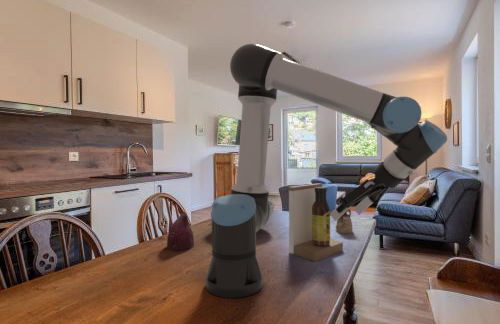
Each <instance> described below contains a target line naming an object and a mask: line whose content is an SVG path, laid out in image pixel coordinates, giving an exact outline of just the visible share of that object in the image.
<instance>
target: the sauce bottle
mask: <svg viewBox="0 0 500 324" xmlns="http://www.w3.org/2000/svg"><path fill="white" fill-rule="evenodd" d="M330 213H331V210H330V206H329V203H328V201H327V187H324V186H322V187H315V202H314V203H313V206H312V243H313V244H314V245H317V246H327V245H329V244H330V239H331V215H330Z"/></svg>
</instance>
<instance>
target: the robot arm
mask: <svg viewBox="0 0 500 324" xmlns="http://www.w3.org/2000/svg"><path fill="white" fill-rule="evenodd" d="M229 67H230V68H229V69H230V73H231V76H232V78H233V80H234V81H235V82H236V83H237V84H238V92H237V93H238V94H237V95H238V96H237V99H238V101H239V102H240V103H241V105H242V108H241V123H240V134H239V135H240V137H239V148H238V149H239V150H238V158H237V159H238V160H237V161H238V162H237V175H236V182H235V184H234V185H232V186H231V189H230V194H226V195H222V196H219V197H217V198H215V200H213V202H212V204H211V211H210V212H211V213H210V218H211V253H212V255H211V260H210V264H209V267H208V270H207V273H206V275H205V276H206V277H205V288H206V290H207V292H209V293H210V294H211V295H215V296H217V297H221V298H229V299H236V298H242V297H243V298H244V297H248V296H251V295H252V296H253V295H254V294H257V293H258V292H259V291H260V290H261V289H262V288H263V285H264V282H263V279H264V277H263V273H262V270H261V266H260V263H259V261H258V257H257V246H256V245H257V235H256V234H257V233H258V232H259V231H260V230H261V229H262V228H263V227H264V226H265V225H266V224H267V222H268V221H267V220H269V219H270V218H269V215H270V205H269V202H268V201H269V196H270V195H269V193H270V191H269V188H267V186H266V185H265V182H266V181H265V179H266V169H267V157H268V156H267V155H268V144H269V132H270V120H271V108H272V106H273V105H274V104H275V103H276V102H277V95H278V91H280V92H282V93H286V94H288V95H291V96H294V97H297V98H300V99H303V100H305V101H307V102H309V103H313V104H316V105H318V106H321V107H324V108H326V109H329V110H331V111H335V112H338V113H340V114H343V115H346V116H348V117H350V118H354V119H357V120H360V121H362V122H365V123H366V124H368V125H369V126H370V127H371V129H373V130H375V131H376V132H377V133H379V134H380V135H381V136H383V137H384V138H385V139H387V140H388V141H389V142H391V143H392V144H393V145H395V146H396V148H395V149H393V150H392V151H391V152H390V153H389V154H388V155H386V157H385V158H384V159H383V161H381V162H380V163H379V164H378V165H377V166H376V167H375V168H374V169H373V173H374V178H370V179H365V180H364V181H363V182H362V183H361V184H360V185H358V186H357V187H355V189H353V190H351V191H350V192H349V193H347V194H346V195H345V196H343V197H341V198H340V199H339V202H340V203H339V204H338V205H337V206H336V207H335V208H333V210H332V211H330V217H331V218H332V219H333V221H334V222H337V220H338V219H339V218H340V217H341V216H342V215H343V214H344V213H345V212H346V211H347V210H348V209H351V206H353V205H355V204H357V203H358V202H359V201H360V202H359V203H358V204H357V205H355V206H354V207H353V209H354V211H355V212H356V213H357V215H362V213H364V212H365V211H366V210H367V209H368V208H369V207H370V206H371V205H373V204H375V205H376V204H378V203H379V201H380V200H381V199H382V198H383V196H385V194H386V193H387V191H388V190H389V189H395V188H396V187H397V186H399V185H400V184H401V183H402V182H403V181H404V179H406V178H407V177H409V176H413V175H414V171H415V170H417V169H418V168H419V167H420V166H422V165H423V164H424V163H425V162H426V161H427V160H428V159H430V158H431V157H432V156H433V155H434V154H436V153H437V152H438V151H439V149H441V148H442V147H443V145H445V144H446V143H447V141H448V136H447V134H446V133H445V131H443V130H442V128H441V127H439V126H438V125H437V124H435V123H433V122H431V121H430V120H424V121H422V122H421V123H420V121H421V119H422V109H421V108H422V107H421V105H420V104H419V102H418V101H417V100H416V99H414V98H412V97H410V96H393V95H390V94H387V93H384V92H382V91H379V90H376V89H373V88H371V87H369V86H368V87H367V86H365V85H362V84H359V83H356V82H353V81H351V80H349V79H348V80H347V79H345V78H341V77H338V76H335V75H333V74H330V73H327V72H324V71H321V70H318V69H316V68H315V69H314V68H312V67H309V66H307V65H304V64H301V63H298V62H295V61H292V60H289V59H287V58H284V56H283V53H282V52H279V51H278V50H277V51H276V50H274V49H271V48H269V47H267V46H263V45H260V44H256V43H249V44H248V43H247V44H244V45H241V46H240V47H239V48H237V49H236V50H235V52H234V53H233V54H232V56H231V59H230V65H229ZM268 218H269V219H268Z"/></svg>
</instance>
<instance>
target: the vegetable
mask: <svg viewBox="0 0 500 324" xmlns="http://www.w3.org/2000/svg"><path fill="white" fill-rule="evenodd" d="M188 218H189V217H188V214H187V213H186V211H184V212H183V213H181V214H180V216H178V217H177V219H175V221H174V222H173V223H172V224H171V226H170V229H169V232H168V234H167V241H166V249H168V250H169V251H172V252H179V251H186V250H187V251H188V250H191V249H193V247H195V242H194V241H195V239H194V234H193V233H194V232H193V230H192V228H191V225H190V224H189V220H188Z"/></svg>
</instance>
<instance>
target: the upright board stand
mask: <svg viewBox="0 0 500 324" xmlns="http://www.w3.org/2000/svg"><path fill="white" fill-rule="evenodd" d="M315 187H323V183H318V182H317V183H311V184H303V185H295V186H293V185H291V186H288V187H287V189H288V251H289V252H288V253H289V254H292V255H294V256H297V257H299V258H303V259H305V260H309V261H312V262H317V261H320V260H323V259H325V258H328V257H331V256H333V255H336V254H337V253H341V252H343V251H344V250H343V249H344V242H343V241H339V240H335V239H331V238H330V244H329V245H327V246H317V245H314V244H313V243H312V206H313V203H314V202H315Z"/></svg>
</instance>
